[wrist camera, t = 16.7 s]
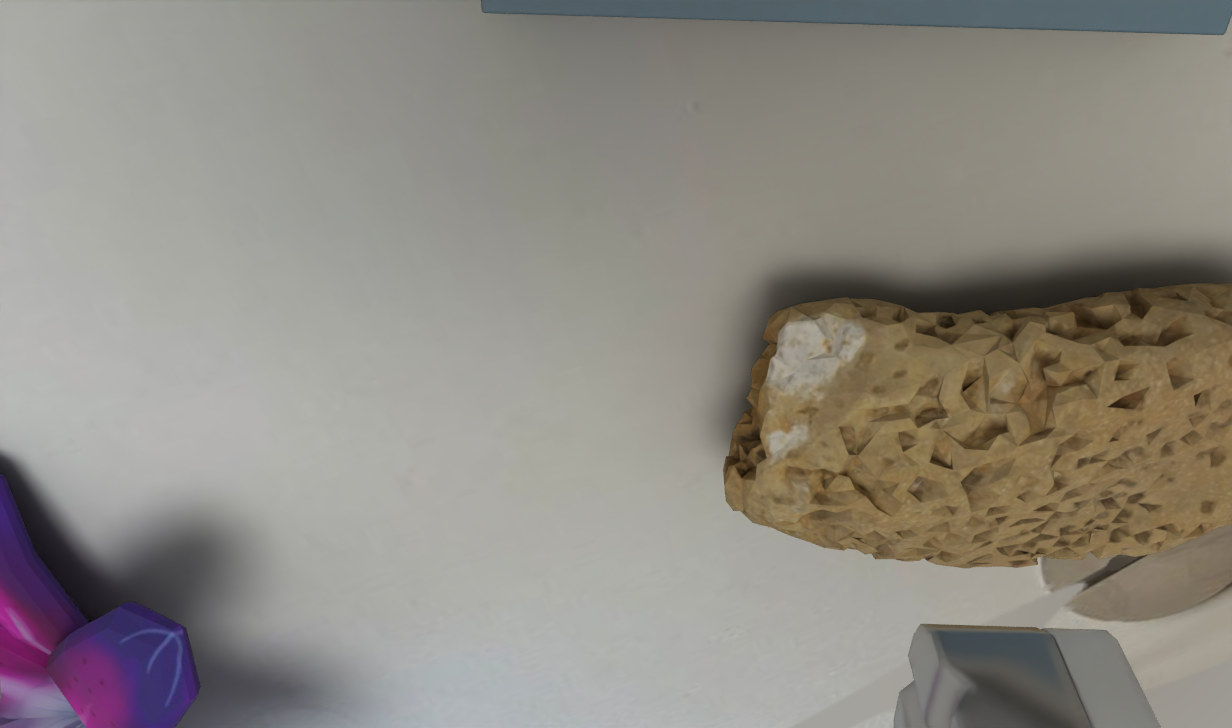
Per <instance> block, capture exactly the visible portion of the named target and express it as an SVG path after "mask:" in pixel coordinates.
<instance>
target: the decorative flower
mask: <svg viewBox="0 0 1232 728" xmlns="http://www.w3.org/2000/svg"><path fill="white" fill-rule="evenodd" d="M0 685H1V700H0V728H175V727H176V725H177V724H178V722H179V721H180V719H181V718H182V717H183V715H184V714H185V712H186V711H187V710H188V708H189V707H190V705H191V704H192V702H193V701H194V700H195V698H196V697H197V695H198V693H199V690H200V688H201V686H200V682H199V678H198V674H197V670H196V666H195V662H194V658H193V654H192V650H191V646H190V642H189V638H188V634H187V630H186V628H185V627H183V626H182V625H180V624H178V623H176V622H174V621H172V620H170V619H168V618H166V617H164V616H162V615H161V614H159V613H157V612H155V611H153V610H151V609H149V608H147V607H145V606H143V605H141V604H139V603H137V602H126V603H125V604H123V605H121V606H119V607H117V608H115V609H114V610H112V611H110V612H108V613H106V614H105V615H103V616H101V617H99V618H97V619H96V620H94V621H92V622H90V623H89V622H88V621H87V619H86V618H85V617H84V615H83V614H82V613H81V611H80V610H79V609H78V607H77V606H76V605H75V604H74V602H73V601H72V600H71V598H70V597H69V596H68V594H67V593H66V592H65V590H64V589H63V588H62V587H61V585H60V584H59V583H58V581H57V580H56V579H55V577H54V576H53V575H52V573H51V572H50V571H49V570H48V568H47V567H46V566H45V564H44V563H43V562H42V560H41V559H40V558H39V556H38V555H37V554H36V552H35V549H34V547H33V544H32V542H31V539H30V537H29V535H28V532H27V530H26V527H25V525H24V522H23V520H22V517H21V515H20V512H19V510H18V507H17V505H16V502H15V500H14V497H13V495H12V492H11V490H10V487H9V485H8V482H7V480H6V477H5V476H3V475H2V474H1V473H0Z"/></svg>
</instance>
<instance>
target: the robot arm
mask: <svg viewBox="0 0 1232 728" xmlns="http://www.w3.org/2000/svg"><path fill="white" fill-rule="evenodd" d="M908 657H909V661H910V665H911V669H912V673H913V677H914V681H913V682H912V683H910V684H909V685H908V686H906V687H905V688H904V689H903V690H901V691H900V692H899V696H898V701H897V706H896V711H895V716H894V728H1161V726H1160V724H1159V722H1158V720H1157V718H1156V717H1155V714H1154V712H1153V710H1152V708H1151V706H1150V704H1149V702H1148V700H1147V698H1146V696H1145V694H1144V692H1143V690H1142V688H1141V686H1140V684H1139V682H1138V680H1137V678H1136V676H1135V674H1134V672H1133V670H1132V668H1131V666H1130V664H1129V662H1128V660H1127V658H1126V656H1125V654H1124V652H1123V650H1122V648H1121V646H1120V644H1119V642H1118V640H1117V639H1116V638H1114V637H1113V636H1112V635H1111V634H1110V633H1109V632H1108V631H1107V630H1087V629H1058V628H1043V629H1038V628H1034V627H1001V626H972V625H940V624H920V626H919V627H918V629H917V630H916V632H915V633H914V635H913V639H912V643H911V646H910V650H909V654H908ZM0 700H1V685H0Z"/></svg>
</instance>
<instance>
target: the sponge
mask: <svg viewBox="0 0 1232 728" xmlns="http://www.w3.org/2000/svg"><path fill="white" fill-rule="evenodd" d="M763 339H764V340H765V341H767V342H768V343H769V346H768V347H767V348H766V349H765V351H764V352H763V353H762V354H761V356H760V357H759V359H758V360H757V362H756V363H755V365H754V366H753V368H752V370H751V382H752V388H751V390H750V393H749V395H748V397H747V400H748V401H749V402H750V403H751V404H752V405H753V406H752V407H751V408H750V409H749V410H748V411H746V412H745V413H744V414H743V415H742V417H741V419H740V421H739V423H738V424H737V426H736V428H735V430H734V432H733V437H732V441H731V445H730V451H729V456H726V460H725V464H724V469H723V472H724V484H725V495H726V502H727V503H728V504H729V506H730V507H731V508H732V510H733V511H741V512H742V513H743V514H744V515H745V516H746V517H747V518H748V519H749V520H751V521H752V522H753V523H756V524H760V525H764V526H768V527H772V528H774V529H776V530H778V531H781V532H783V533H785V534H788V535H790V536H793V537H796V538H799V539H802V540H805V541H808V542H811V543H813V544H816V545H819V546H821V547H824V548H831V549H838V550H845V549H847V548H849V549H856V550H859V551H861V552H862V553H864V554H870V553H871V554H872V555H873V557H874V558H875V559H896V560H901V561H919V560H921V559H924V558H925V559H926V560H927V561H929V562H932V563H934V564H938V565H944V566H951V567H952V566H953V567H960V568H971V567H992V566H1004V567H1016V568H1018V567H1025V566H1031V565H1038V563H1037V558H1038V557H1041V556H1046V557H1048V558H1057V559H1073V560H1083V559H1084V558H1085V556H1086V555H1087V553H1088V552H1091V553H1092V554H1093V555H1095V556H1096V557H1097V558H1098V559H1099V560H1100V559H1102V558H1104V557H1107V556H1108V557H1109V556H1113V555H1118V554H1123V555H1129V556H1134V557H1136V556H1142V555H1147V554H1153V553H1158V552H1161V551H1165V550H1168V549H1171V548H1173V547H1175V546H1177V545H1179V544H1182V543H1184V542H1186V541H1189V540H1191V539H1194V538H1197V537H1199V536H1202V535H1205V534H1206V533H1208V532H1210V531H1211V530H1213V529H1215V528H1216V527H1221V526H1225V525H1230V524H1232V283H1198V284H1183V285H1174V286H1166V287H1158V288H1156V289H1149V288H1137V289H1134V290H1132V291H1124V292H1106V293H1104V294H1101V295H1099V296H1097V297H1086V298H1082V299H1078V300H1074V301H1070V302H1066V303H1062V304H1058V305H1054V306H1050V307H1046V308H1043V309H1042V308H1034V307H1033V308H1025V309H1016V310H1008V311H998V312H993V313H992V314H990V315H987V314H985V313H984V312H982V311H981V310H977V311H972V312H967V313H962V314H955V313H951V312H950V313H944V312H927V313H917V312H915V311H912V310H910V309H908V308H906V307H904V306H900V305H897V304H893V303H889V302H885V301H880V300H876V299H849V298H848V297H843V298H836V299H829V300H822V301H816V302H809V303H802V304H797V305H794V306H791V307H788V308H785V309H782V310H779V311H777V312H776V313H775V314H773V315H772V316H771V317H769V318H768V321H767V325H766V329H765V332H764V336H763Z"/></svg>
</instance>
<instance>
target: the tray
mask: <svg viewBox="0 0 1232 728" xmlns="http://www.w3.org/2000/svg"><path fill="white" fill-rule="evenodd" d="M481 7H482V11H483V12H484V13H503V14H536V15H570V16H603V17H636V18H670V19H703V20H736V21H769V22H803V23H836V24H869V25H903V26H936V27H969V28H1003V29H1036V30H1069V31H1103V32H1136V33H1169V34H1203V35H1223V34H1225V33H1226V30H1227V27H1228V24H1229V21H1230V18H1231V15H1232V0H481Z"/></svg>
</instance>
